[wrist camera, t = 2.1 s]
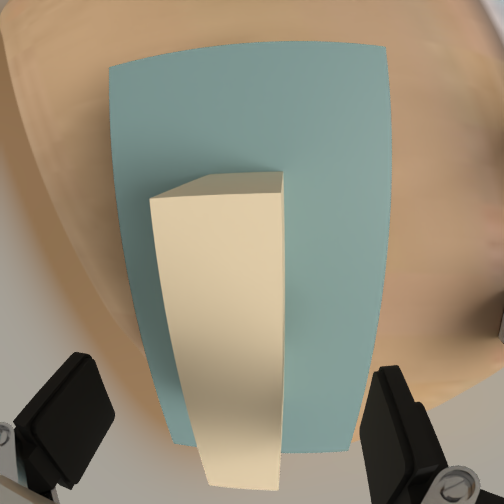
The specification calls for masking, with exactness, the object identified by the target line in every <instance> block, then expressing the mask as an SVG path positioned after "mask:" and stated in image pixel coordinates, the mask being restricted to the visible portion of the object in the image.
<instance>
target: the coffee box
mask: <svg viewBox="0 0 504 504" xmlns="http://www.w3.org/2000/svg"><path fill="white" fill-rule="evenodd" d="M499 339H500V340H501V342H502V343H503V344H504V313H503V318H502V323H501V328H500V332H499Z"/></svg>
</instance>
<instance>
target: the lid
mask: <svg viewBox="0 0 504 504" xmlns="http://www.w3.org/2000/svg"><path fill="white" fill-rule="evenodd" d="M109 108H110V133H111V149H112V162H113V174H114V184H115V193H116V202H117V210H118V218H119V225H120V232H121V238H122V245H123V251H124V257H125V263H126V268H127V274H128V279H129V284H130V289H131V294H132V299H133V303H134V308H135V312H136V317H137V321H138V325H139V330H140V334H141V338H142V342H143V346H144V349H145V353H146V357H147V361H148V364H149V368H150V371H151V374H152V378H153V382H154V385H155V388H156V391H157V395H158V398H159V401H160V404H161V407H162V411H163V414H164V416H165V419H166V423H167V425H168V428H169V431H170V434H171V437H172V440H173V442H174V443H175V444H181V445H187V446H195V447H197V448H198V451H199V454H200V458H201V461H202V464H203V467H204V471H205V473H206V477H207V480H208V483H209V485H211V486H220V487H229V488H240V489H255V490H279V475H280V460H281V453H322V452H340V451H348V450H349V446H350V443H351V440H352V436H353V433H354V429H355V426H356V422H357V419H358V415H359V411H360V407H361V403H362V399H363V395H364V391H365V387H366V382H367V378H368V373H369V368H370V364H371V359H372V354H373V349H374V343H375V338H376V332H377V326H378V320H379V314H380V307H381V300H382V293H383V286H384V277H385V269H386V259H387V249H388V237H389V224H390V207H391V181H392V131H391V105H390V89H389V76H388V65H387V56H386V47H383V46H375V45H366V44H355V43H341V42H318V41H279V42H256V43H242V44H231V45H221V46H213V47H205V48H198V49H191V50H185V51H179V52H173V53H168V54H163V55H158V56H153V57H148V58H144V59H140V60H135V61H131V62H127V63H123V64H119V65H116V66H112V67H109Z"/></svg>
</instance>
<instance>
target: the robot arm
mask: <svg viewBox="0 0 504 504" xmlns="http://www.w3.org/2000/svg"><path fill="white" fill-rule="evenodd" d="M114 418H115V412H114V409H113V407H112V404H111V402H110V399H109V397H108V394H107V392H106V390H105V387H104V384H103V382H102V379H101V376H100V374H99V371H98V368H97V365H96V362H95V360H94V359H92V357H91V356H90V355H89V354H85V353H79V352H74V353H73V354H72V355H71V356H70V357H69V358H68V359H67V360H66V361H65V362H64V364H63V365H62V366H61V367H60V368H59V369H58V370H57V371H56V372H55V374H54V375H53V376H52V377H51V378H50V379H49V380H48V381H47V382H46V384H45V385H44V386H43V387H42V388H41V389H40V390H39V391H38V393H37V394H36V395H35V396H34V397H33V398H32V400H31V401H30V402H29V403H28V404H27V405H26V406H25V408H24V409H23V410H22V411H21V413H20V414H19V415H18V416H17V417H16V418H15V419H14V421H13V422H14V424H15V426H16V427H15V429H13V427H12V426H11V425H10V424H8V423H5V422H0V504H60V503H59V500H58V495H57V491H56V487H55V486H56V484H57V483H58V484H59V485H61V486H63V487H66V488H68V489H70V490H72V488H73V486H74V484H77V483H78V482H79V481H80V479H81V477H82V476H83V474H84V472H85V470H86V468H87V467H88V465H89V463H90V461H91V459H92V458H93V456H94V454H95V452H96V450H97V449H98V447H99V445H100V443H101V442H102V440H103V438H104V436H105V435H106V433H107V431H108V430H109V428H110V426H111V424H112V423H113V421H114ZM360 440H361V445H362V450H363V456H364V460H365V466H366V472H367V477H368V484H369V490H370V496H371V502H372V504H504V498H503V497H500V496H498V495H495V494H492V493H489V492H487V491H484V490H481V489H480V480H479V478H478V476H477V474H476V473H475V472H474V471H473V470H471V469H469V468H467V467H465V466H459V465H458V466H451V467H448V464H447V461H446V459H445V456H444V453H443V451H442V448H441V446H440V443H439V441H438V439H437V436H436V434H435V431H434V429H433V426H432V424H431V422H430V419H429V417H428V415H427V412H426V410H425V408H424V406H423V404H422V403H421V402H414V399H413V397H412V395H411V392H410V390H409V388H408V385H407V383H406V381H405V379H404V376H403V374H402V372H401V370H400V368H399V366H398V365H394V366H383V367H380V368H379V371H377V372H374V373H373V377H372V381H371V386H370V390H369V394H368V398H367V402H366V406H365V410H364V414H363V418H362V421H361V425H360Z"/></svg>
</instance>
